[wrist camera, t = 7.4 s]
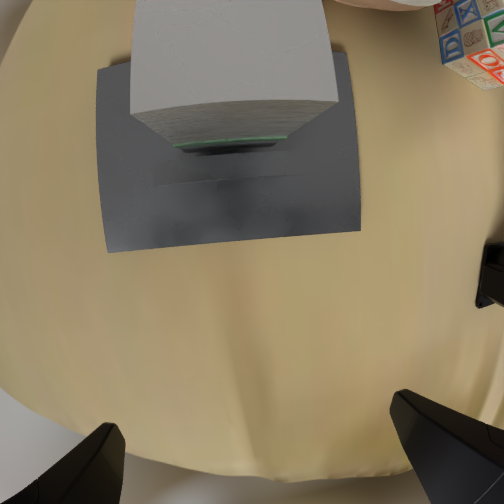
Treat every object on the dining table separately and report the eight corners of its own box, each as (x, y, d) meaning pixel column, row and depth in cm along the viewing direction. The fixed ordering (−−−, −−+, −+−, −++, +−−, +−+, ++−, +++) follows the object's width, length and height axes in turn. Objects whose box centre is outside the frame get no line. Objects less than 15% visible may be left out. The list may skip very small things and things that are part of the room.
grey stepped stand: (339, 58, 16) (388, 14, 9) (353, 227, 19) (412, 252, 12) (104, 75, 15) (55, 35, 8) (114, 248, 18) (63, 284, 11)
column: (264, 52, 12) (306, -60, 4) (272, 147, 13) (341, 104, 5) (181, 57, 12) (143, -53, 3) (185, 154, 13) (127, 117, 5)
